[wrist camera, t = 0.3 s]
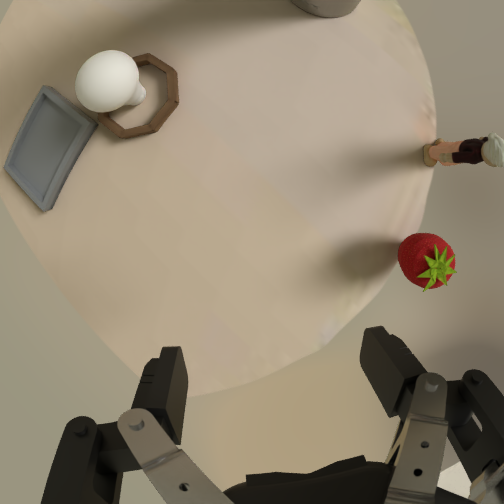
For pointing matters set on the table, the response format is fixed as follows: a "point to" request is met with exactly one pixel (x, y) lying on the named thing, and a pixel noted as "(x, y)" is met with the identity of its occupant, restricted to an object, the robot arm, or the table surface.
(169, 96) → the socket ring
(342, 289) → the table surface
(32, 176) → the tray
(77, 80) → the lightbulb
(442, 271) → the decorative fruit
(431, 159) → the grandmother figurine
